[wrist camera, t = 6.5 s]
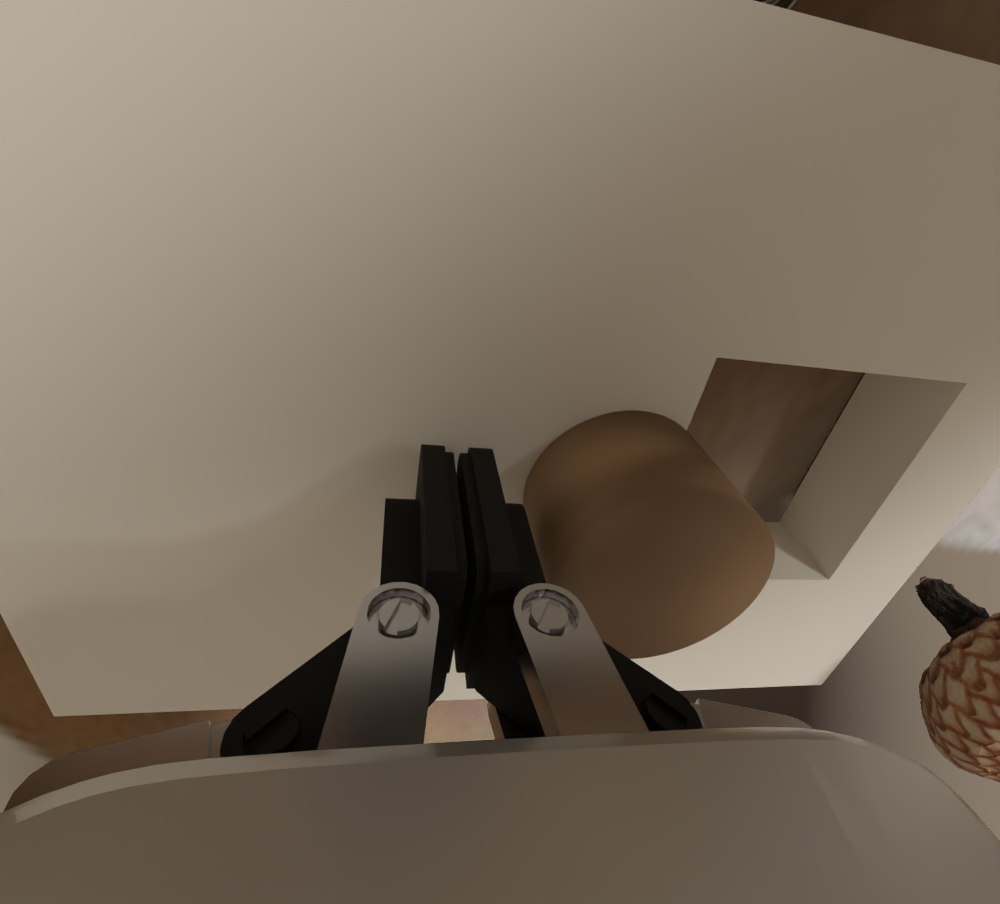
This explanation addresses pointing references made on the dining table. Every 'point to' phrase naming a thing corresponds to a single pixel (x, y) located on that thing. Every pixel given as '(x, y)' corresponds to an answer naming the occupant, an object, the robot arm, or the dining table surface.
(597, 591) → the brown wooden cylinder
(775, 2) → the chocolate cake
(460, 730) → the dining table surface
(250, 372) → the plate
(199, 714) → the dining table surface
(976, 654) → the acorn
